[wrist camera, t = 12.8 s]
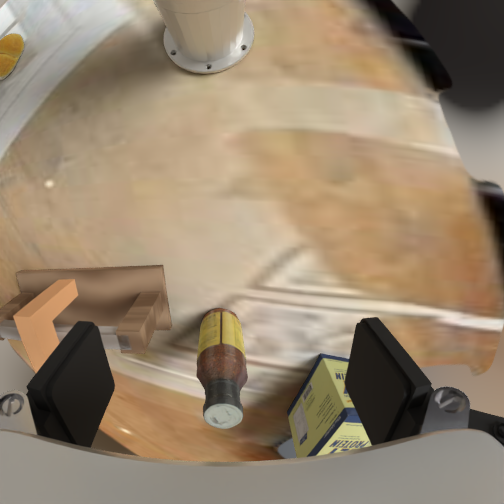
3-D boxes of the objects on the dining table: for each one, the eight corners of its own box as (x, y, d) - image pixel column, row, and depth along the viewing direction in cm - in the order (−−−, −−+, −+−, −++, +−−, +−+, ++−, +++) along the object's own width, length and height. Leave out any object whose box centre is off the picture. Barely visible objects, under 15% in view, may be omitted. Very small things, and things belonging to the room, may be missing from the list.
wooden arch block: (58, 279, 37) (13, 315, 26) (74, 279, 37) (30, 317, 26) (75, 338, 40) (41, 384, 28) (90, 339, 40) (58, 387, 29)
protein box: (368, 360, 50) (403, 417, 35) (331, 418, 54) (352, 475, 39) (320, 351, 49) (348, 414, 34) (285, 412, 52) (298, 475, 38)
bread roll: (32, 37, 30) (20, 30, 26) (10, 82, 32) (-3, 78, 28) (8, 34, 29) (-4, 29, 25) (-12, 77, 31) (-25, 74, 27)
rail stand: (20, 270, 41) (-24, 299, 29) (162, 264, 43) (137, 303, 30) (34, 321, 44) (-3, 357, 32) (171, 325, 46) (154, 376, 33)
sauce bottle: (201, 339, 46) (187, 433, 27) (201, 304, 45) (184, 394, 26) (242, 341, 47) (248, 437, 28) (245, 307, 45) (253, 398, 26)
